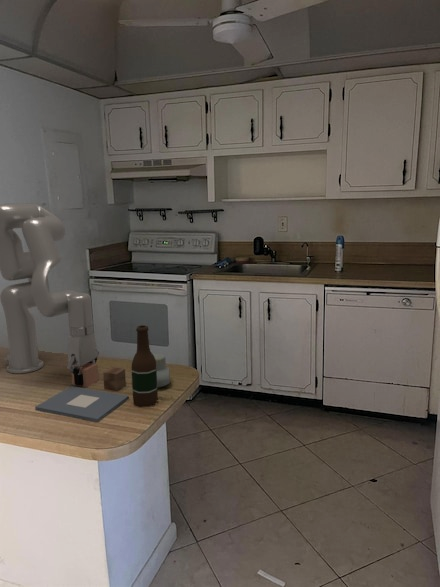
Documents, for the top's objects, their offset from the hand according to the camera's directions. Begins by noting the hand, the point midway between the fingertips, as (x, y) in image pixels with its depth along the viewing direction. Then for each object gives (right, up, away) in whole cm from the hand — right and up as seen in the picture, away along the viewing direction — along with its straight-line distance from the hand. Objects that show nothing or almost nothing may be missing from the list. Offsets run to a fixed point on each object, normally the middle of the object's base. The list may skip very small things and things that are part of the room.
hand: (85, 380), depth 150 cm
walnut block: (+11, -2, -4) cm, 12 cm away
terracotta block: (0, -1, 0) cm, 1 cm away
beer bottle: (+23, -4, -15) cm, 27 cm away
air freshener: (+25, -1, -2) cm, 25 cm away
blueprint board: (+4, -4, -16) cm, 17 cm away
